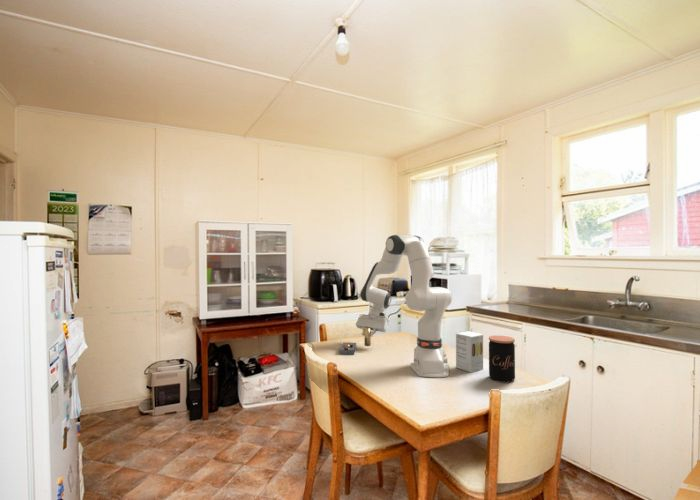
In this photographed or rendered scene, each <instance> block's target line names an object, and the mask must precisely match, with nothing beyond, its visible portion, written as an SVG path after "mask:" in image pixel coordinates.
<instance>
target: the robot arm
mask: <svg viewBox="0 0 700 500" xmlns="http://www.w3.org/2000/svg"><path fill="white" fill-rule="evenodd" d="M403 256H406V257H407V260H408V264H409V265H408V266H409V269H410V270H409V271H410V274H411V285H410V287H409V290H408V291H407V293H406V295H405V299H404V301H405V304H406V306H407V308H408V309H410V310H411V311H418V312H419V311H420V312H421V311H424V313H423V316H421V318H420V319H419V320H418V322H417V337H416V344H417V345H416V347H415V348H414V349H413V362H410V365H409V367H410V368H411V369H412V370H413V371H414V372H415V374H416V375H417V376H418V377H424V378H446V377H447V378H448V377H449V376H450V375H449V374H450V373H449V372H450V364H449V363H448V358H446V357H447V353H445V348H443V340H442V337H441V332H442V328H441V327H442V320H443V317H444V314H445V312H446V310H447V308H448V307H449V306H450V305H451V303H452V300H453V296H452V293H451V291H450V290H449V289H448V288H446V287H442V286H432V287H431V286H430V280H431V279H432V278H433V277H434V274H435V271H434V268H433V264H432V259H431V256H430V253H429V250H428V248H427V246H426V244H425V241H424V239H423V238H422V237H421V236H418V235H411V234H410V235H409V234H394V235H389V236H388V237H387V238H386V241H385V248H384V251H383V254H382V257H381V259H380V261H378V262H376V263H374V264H373V266H372V268H371V270H370V272H369V274H368V276H367V278H366V281H365V283H364V284H363V287H362V288H361V289H360V291H359V292H360V293H359V296H360V298H361V300H362V301H364V302H367V303H370V304H372V305H373V306H372V307H371V308H370V310H369V312H368V314H361V315H360V316H359V317H358V319H357V321H356V322H355V326H356V328H357V329H361V330H362V332H361V335H362V336H364V328H371V332H370V334H369V336H371V338H372V337H373V336H374V335H375V334H376V333H377V332H380V333H386V332H387V330H388V328H389V322H390V319H389V316H388V315H387V314H386V313H385V312H386V311H387V309H388V308H389V307H390V304H391V302H392V296H391V294H390V292H388V291H387V290H384V289H381V288H377V287H375V286H373V284H374V281H375V279H376V277H377V276H378V275H390V274H394V273H396V272H398V270H399V269H400V266H401V263H402V260H403Z"/></svg>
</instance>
